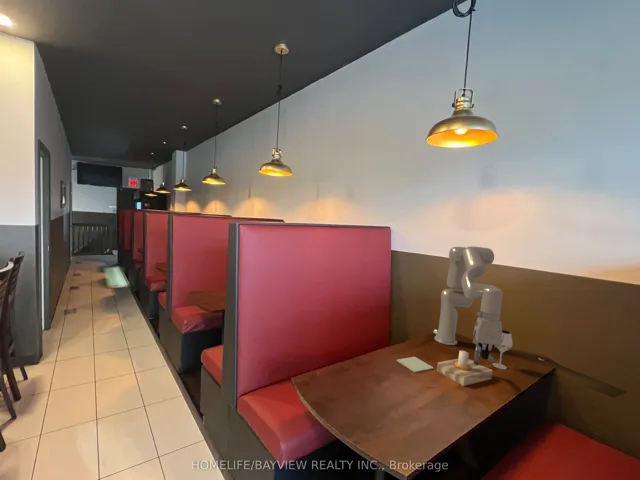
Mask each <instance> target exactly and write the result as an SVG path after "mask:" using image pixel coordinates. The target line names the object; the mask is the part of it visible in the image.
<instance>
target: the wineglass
mask: <svg viewBox="0 0 640 480" xmlns="http://www.w3.org/2000/svg"><path fill="white" fill-rule="evenodd" d="M512 347H513V337H512V332H510V331H508V330H505V329H504V330H503V329H502V341H501V344H500V346H499V347H496V348H497V349H498V350H499V352H500V353H499V354H500V355H499V356H500V357H499V362H492V366H493V367H495V368H496V369H500V370H507V368H508V367H507V366H505V365H504V364H502V360H503V359H502V358H503V353H505V352H506V351H509V350H511V348H512Z"/></svg>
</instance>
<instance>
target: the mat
mask: <svg viewBox="0 0 640 480" xmlns="http://www.w3.org/2000/svg"><path fill="white" fill-rule="evenodd" d="M396 362H398V363H399V364H401V365H402V366H404V367H406V369H407V368H408V369H409V370H410V371H412V372H413V373H420V372H424V371H429V370H433V369H434V367H433V366H432V365H430V364H429V363H427V362H425V361H423V360H421V359H420V358H418V357H417V356H410V357H406V358H405V357H404V358H399V359H396Z"/></svg>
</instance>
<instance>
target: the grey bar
mask: <svg viewBox="0 0 640 480" xmlns="http://www.w3.org/2000/svg"><path fill="white" fill-rule="evenodd" d="M480 351H481V348H480V346H479V345H477V344H475V350H474V357H473V361H474V364H476V365H478V364H480V363H479V361H480V357H481V356H480ZM487 361H488V362H492V363H495V358H494V357H493V356H492V355H491V354H490V353H489V357H488V360H487Z"/></svg>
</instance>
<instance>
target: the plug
mask: <svg viewBox="0 0 640 480" xmlns="http://www.w3.org/2000/svg"><path fill="white" fill-rule="evenodd" d="M458 352H459V353H458V358H457V359H458V361H456V362H455V367H457V368H459V369H461V370H470V365H469V364H468V359H469V358H470V357H469V356H470V353H469V352H467V351H466V350H459V351H458Z"/></svg>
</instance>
